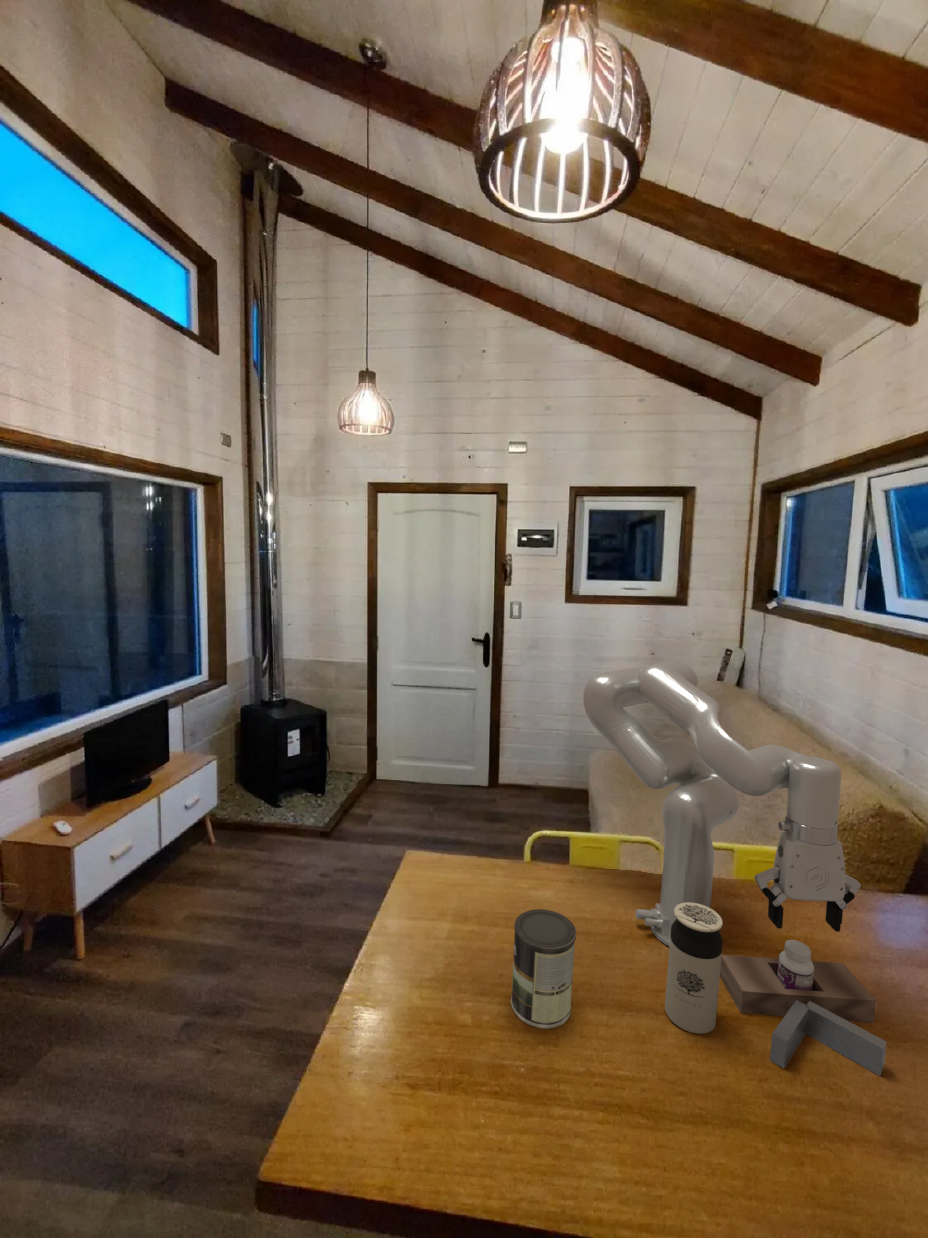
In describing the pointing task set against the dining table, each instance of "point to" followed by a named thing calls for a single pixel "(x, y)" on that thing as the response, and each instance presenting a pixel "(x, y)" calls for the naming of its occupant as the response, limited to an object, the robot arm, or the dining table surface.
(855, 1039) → the v block
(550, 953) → the coffee can
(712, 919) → the travel mug
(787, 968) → the pill bottle
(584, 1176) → the dining table surface
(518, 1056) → the dining table surface
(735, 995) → the wooden block with hole
